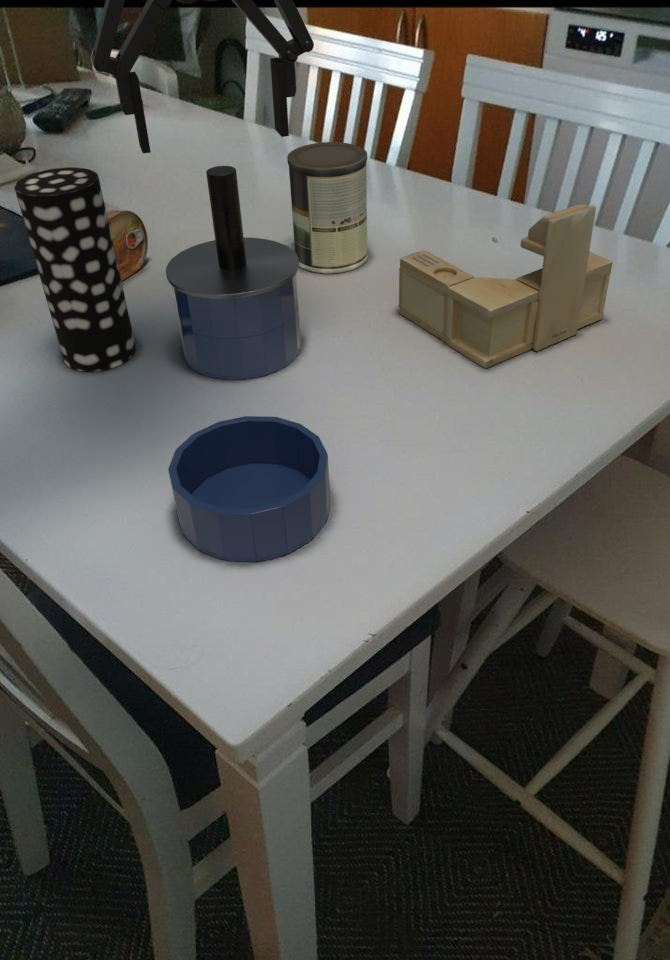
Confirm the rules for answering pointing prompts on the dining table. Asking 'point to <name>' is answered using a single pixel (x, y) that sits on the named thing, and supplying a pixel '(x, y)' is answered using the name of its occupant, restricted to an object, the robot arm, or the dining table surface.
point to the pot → (240, 332)
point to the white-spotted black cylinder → (77, 266)
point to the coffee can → (329, 206)
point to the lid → (230, 252)
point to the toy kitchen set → (511, 293)
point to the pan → (251, 488)
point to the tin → (128, 241)
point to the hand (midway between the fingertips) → (214, 141)
